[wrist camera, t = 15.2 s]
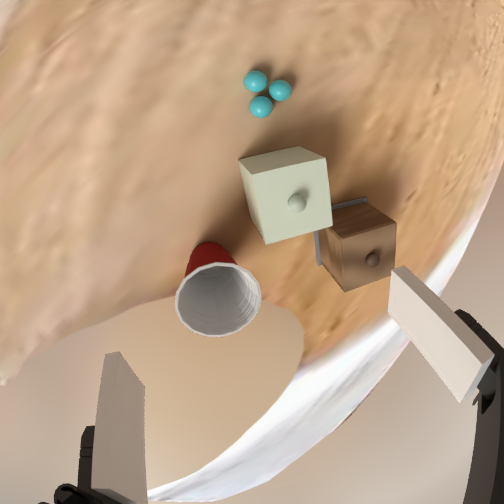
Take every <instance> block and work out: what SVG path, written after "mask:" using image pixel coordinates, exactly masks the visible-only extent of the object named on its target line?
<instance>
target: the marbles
mask: <svg viewBox="0 0 504 504" xmlns="http://www.w3.org/2000/svg"><path fill="white" fill-rule="evenodd" d="M244 85H245V87H246V88H247V89H248V90H250V91H252V92H260V91H262V90H263V89H264V88H265V87H266V85H267V77H266V75H265V74H264V73H263V72H261V71H257V70H254V71H250V72H249V73H247V74H246V76H245V78H244ZM291 93H292V89H291V86H290V84H289V83H288V82H286V81H284V80H276V81H274V82H272V83H271V85H270V86H269V94H270V96H271V97H272V98H273V99H275V100H277V101H284V100H286V99H288V98H289V97H290V95H291ZM249 108H250V111H251V113H252V114H253V115H254V116H255V117H258V118H264V117H267V116H268V115H269V114H270V113H271V112H272V109H273V105H272V102H271V101H270V100H269V99H268V98H267V97H264V96H258V97H255V98H254V99H253V100H252V101H251V102H250V106H249Z"/></svg>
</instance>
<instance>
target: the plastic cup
mask: <svg viewBox="0 0 504 504" xmlns="http://www.w3.org/2000/svg"><path fill="white" fill-rule="evenodd" d="M261 299H262V295H261V290H260V286H259V282H258V281H257V280H256V279H255V278H254V276H253V275H252V274H251V273H250V272H249V271H248V270H246V269H244V268H242V267H240V266H238V265H237V263H236V262H235V261H234V260H233V258H232V257H231V256H230V255H229V254H228V252H227V251H226V250H225V249H224V248H223V247H222V246H221V245H219V244H217V243H212V242H207V243H203V244H200V245H199V246H198V247H196V248H195V249H194V251H193V252H192V254H191V256H190V260H189V263H188V265H187V269H186V273H185V277H184V280H183V281H182V283H181V285H180V286H179V288H178V290H177V292H176V297H175V310H176V312H177V315H178V317H179V319H180V322H182V323H183V324H184V325H185V326H186V327H187V328H188V329H189V330H191V331H192V332H195V333H197V334H200V335H203V336H206V337H208V336H210V337H222V336H226V335H229V334H232V333H236V332H238V331H239V330H241V329H242V328H244V327H245V326H246V325H248V324H249V323H250V322H251V321H252V319H253V318H254V317H255V315H256V314H257V312H258V311H259V307H260V303H261Z"/></svg>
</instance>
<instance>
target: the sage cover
mask: <svg viewBox="0 0 504 504" xmlns="http://www.w3.org/2000/svg"><path fill="white" fill-rule="evenodd" d="M238 163H239V168H240V172H241V177H242V181H243V186H244V190H245V195H246V199H247V204H248V208H249V213H250V217H251V219H252V221H253V223H254V225H255V226H256V228H257V230H258V232H259V233H260V235H261V237H262V239H263V240H264V242H265V244H266V245H267V244H271V243H274V242H278V241H281V240H285V239H288V238H292V237H295V236H299V235H302V234H306V233H309V232H313V231H316V230H320V229H323V228H327V227H330V226H333V223H332V211H331V201H330V191H329V181H328V173H327V164H326V158H325V157H323V156H320V155H318V154H316V153H314V152H311V151H309V150H307V149H305V148H302V147H300V146H296V147H291V148H286V149H282V150H277V151H273V152H268V153H264V154H259V155H255V156H251V157H247V158H243V159H239V160H238Z"/></svg>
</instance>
